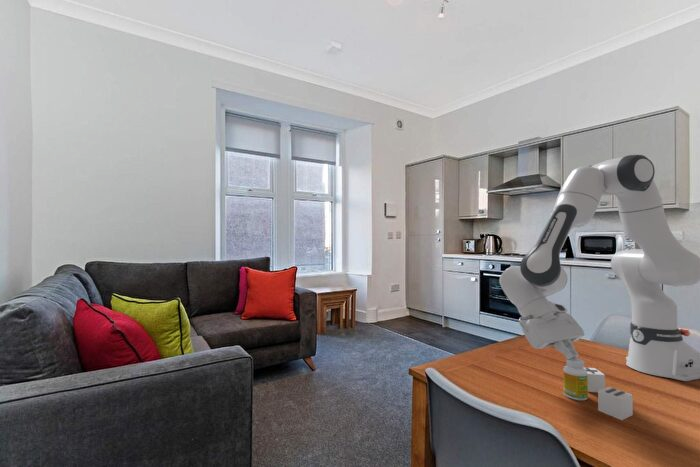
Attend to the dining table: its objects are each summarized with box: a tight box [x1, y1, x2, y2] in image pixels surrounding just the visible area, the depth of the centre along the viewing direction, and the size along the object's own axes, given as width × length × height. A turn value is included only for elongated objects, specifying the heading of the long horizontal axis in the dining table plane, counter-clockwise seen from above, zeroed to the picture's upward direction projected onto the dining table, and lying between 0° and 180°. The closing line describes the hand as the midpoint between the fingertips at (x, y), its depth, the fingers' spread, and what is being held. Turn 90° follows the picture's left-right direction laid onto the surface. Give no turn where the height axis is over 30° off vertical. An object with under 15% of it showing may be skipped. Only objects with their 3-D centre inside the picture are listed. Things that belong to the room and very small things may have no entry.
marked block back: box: [583, 366, 606, 393], centre depth 96 cm, size 5×5×5 cm
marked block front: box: [597, 386, 634, 421], centre depth 83 cm, size 5×5×5 cm
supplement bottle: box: [563, 357, 589, 401], centre depth 91 cm, size 5×5×10 cm
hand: (573, 357), depth 91 cm, fingers closed, pressing on supplement bottle
